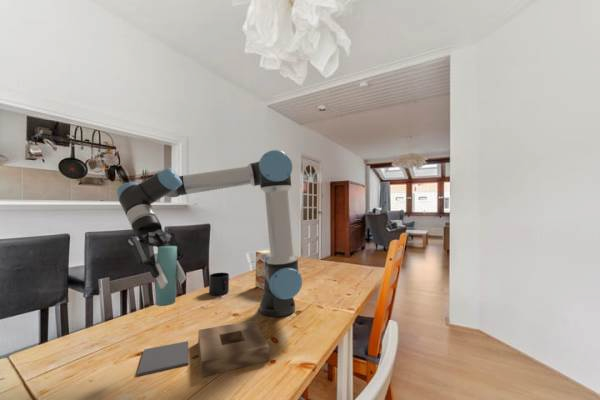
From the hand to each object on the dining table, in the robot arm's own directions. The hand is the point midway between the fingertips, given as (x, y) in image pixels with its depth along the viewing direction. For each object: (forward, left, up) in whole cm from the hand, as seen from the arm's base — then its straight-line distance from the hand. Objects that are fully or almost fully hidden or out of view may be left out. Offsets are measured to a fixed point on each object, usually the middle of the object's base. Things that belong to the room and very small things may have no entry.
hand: (174, 282), depth 71 cm
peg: (+2, -3, -6) cm, 7 cm away
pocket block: (-16, +1, -22) cm, 27 cm away
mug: (-19, -53, -22) cm, 60 cm away
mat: (+2, -3, -22) cm, 22 cm away
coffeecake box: (-44, -51, -22) cm, 71 cm away
